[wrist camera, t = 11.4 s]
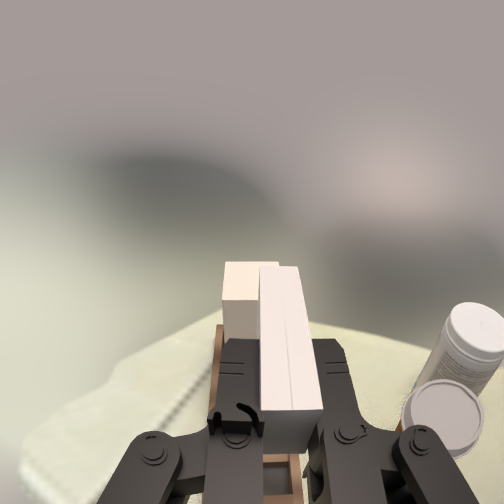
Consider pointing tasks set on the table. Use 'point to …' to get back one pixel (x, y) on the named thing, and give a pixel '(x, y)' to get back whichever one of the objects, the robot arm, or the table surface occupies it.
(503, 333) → the supplement tub
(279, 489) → the trap track
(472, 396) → the disposable coffee cup
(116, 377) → the table surface
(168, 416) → the table surface
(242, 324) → the block
